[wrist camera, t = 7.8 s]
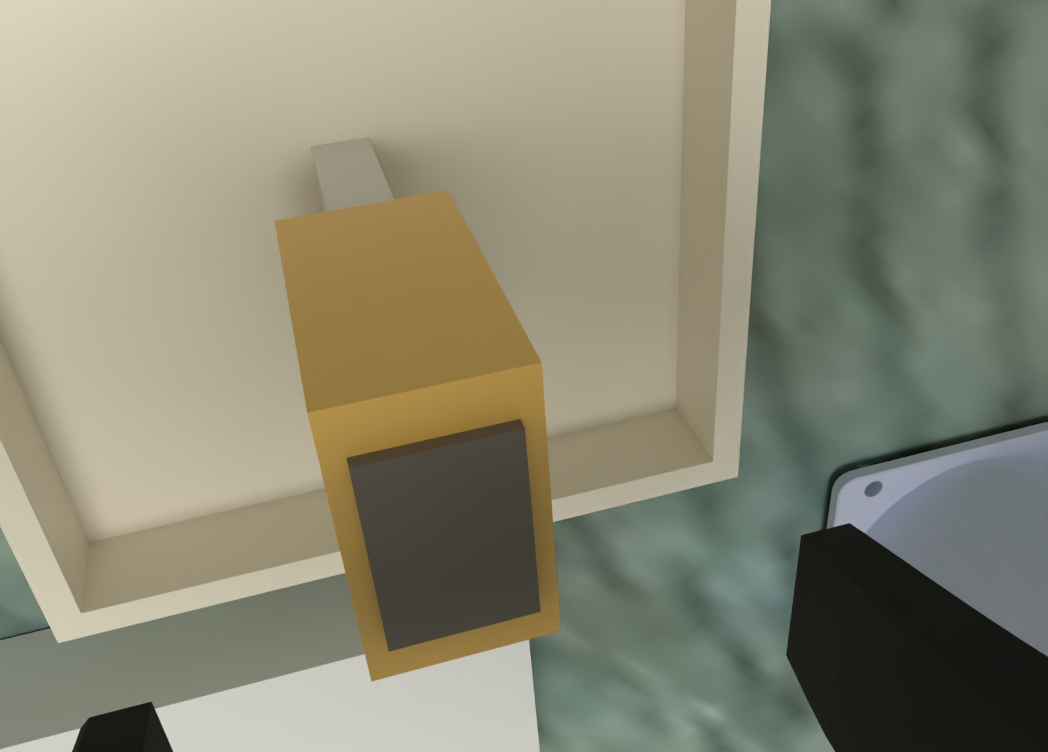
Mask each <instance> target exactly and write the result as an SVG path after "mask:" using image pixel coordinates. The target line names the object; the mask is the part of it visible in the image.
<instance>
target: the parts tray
mask: <svg viewBox="0 0 1048 752" xmlns="http://www.w3.org/2000/svg"><path fill="white" fill-rule="evenodd" d="M770 9H771V0H0V527H1V529H2V531H3V533H4V535H5V537H6V539H7V541H8V543H9V545H10V547H11V549H12V551H13V553H14V555H15V557H16V559H17V561H18V563H19V565H20V567H21V569H22V571H23V573H24V575H25V577H26V579H27V581H28V583H29V585H30V587H31V589H32V591H33V593H34V596H35V598H36V600H37V602H38V604H39V606H40V608H41V610H42V612H43V614H44V616H45V618H46V620H47V622H48V624H49V626H50V628H51V630H52V632H53V634H54V636H55V638H56V640H57V642H58V643H61V642H65V641H69V640H73V639H77V638H81V637H85V636H89V635H94V634H98V633H102V632H106V631H110V630H114V629H118V628H122V627H126V626H130V625H134V624H138V623H143V622H147V621H151V620H155V619H159V618H163V617H167V616H171V615H175V614H179V613H183V612H188V611H192V610H196V609H200V608H204V607H208V606H212V605H216V604H220V603H224V602H228V601H232V600H237V599H241V598H245V597H249V596H253V595H257V594H261V593H265V592H269V591H273V590H277V589H282V588H286V587H290V586H294V585H298V584H302V583H306V582H310V581H314V580H318V579H322V578H326V577H331V576H335V575H339V574H343V573H345V569H344V565H343V561H342V557H341V552H340V548H339V544H338V540H337V536H336V531H335V527H334V523H333V519H332V515H331V511H330V506H329V502H328V498H327V494H326V490H325V485H324V481H323V477H322V473H321V469H320V464H319V460H318V456H317V452H316V448H315V444H314V439H313V435H312V431H311V427H310V423H309V418H308V414H307V409H306V403H305V397H304V391H303V385H302V379H301V374H300V368H299V362H298V356H297V350H296V344H295V338H294V332H293V326H292V320H291V315H290V309H289V303H288V297H287V291H286V285H285V279H284V273H283V267H282V262H281V256H280V250H279V244H278V238H277V232H276V226H275V221H276V220H282V219H287V218H293V217H299V216H304V215H310V214H316V213H321V212H323V207H322V202H321V197H320V192H319V187H318V182H317V177H316V172H315V167H314V162H313V157H312V152H311V147H312V146H318V145H324V144H330V143H336V142H342V141H348V140H354V139H360V138H366V137H368V138H369V141H370V143H371V146H372V148H373V150H374V153H375V155H376V157H377V160H378V162H379V165H380V167H381V169H382V172H383V174H384V176H385V179H386V181H387V183H388V186H389V188H390V191H391V193H392V195H393V198H394V199H400V198H406V197H411V196H417V195H422V194H428V193H434V192H439V191H445V190H448V191H449V193H450V195H451V196H452V198H453V200H454V202H455V204H456V206H457V207H458V209H459V211H460V213H461V215H462V217H463V219H464V220H465V222H466V224H467V226H468V228H469V230H470V231H471V233H472V235H473V237H474V239H475V241H476V242H477V244H478V246H479V248H480V250H481V252H482V253H483V255H484V257H485V259H486V261H487V263H488V265H489V266H490V268H491V270H492V272H493V274H494V276H495V277H496V279H497V281H498V283H499V285H500V287H501V288H502V290H503V292H504V294H505V296H506V298H507V299H508V301H509V303H510V305H511V307H512V309H513V311H514V312H515V314H516V316H517V318H518V320H519V322H520V323H521V325H522V327H523V329H524V331H525V333H526V334H527V336H528V338H529V340H530V342H531V344H532V346H533V347H534V349H535V351H536V353H537V355H538V357H539V358H540V360H541V362H542V372H543V386H544V400H545V415H546V429H547V443H548V457H549V471H550V486H551V500H552V514H553V522H555V521H559V520H563V519H568V518H572V517H576V516H580V515H584V514H588V513H592V512H596V511H600V510H604V509H608V508H613V507H617V506H621V505H625V504H629V503H633V502H637V501H641V500H645V499H649V498H653V497H657V496H662V495H666V494H670V493H674V492H678V491H682V490H686V489H690V488H694V487H698V486H702V485H706V484H711V483H715V482H719V481H723V480H727V479H731V478H735V477H738V467H739V453H740V439H741V424H742V410H743V396H744V381H745V367H746V353H747V338H748V324H749V310H750V295H751V281H752V267H753V252H754V238H755V224H756V209H757V195H758V181H759V166H760V152H761V138H762V123H763V109H764V95H765V80H766V66H767V52H768V37H769V23H770Z"/></svg>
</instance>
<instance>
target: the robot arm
mask: <svg viewBox="0 0 1048 752" xmlns="http://www.w3.org/2000/svg"><path fill="white" fill-rule="evenodd" d="M870 483H871V484H870ZM869 484H870V485H869ZM786 655H787V658H788V660H789V662H790V664H791V666H792V668H793V670H794V672H795V675H796V677H797V679H798V681H799V683H800V685H801V687H802V689H803V692H804V694H805V696H806V698H807V700H808V702H809V704H810V706H811V708H812V710H813V712H814V714H815V716H816V718H817V720H818V722H819V724H820V726H821V728H822V730H823V732H824V734H825V736H826V737H827V739H828V741H829V742H830V744H831V745H832V747H833V749H834V750H835V752H1048V422H1044V423H1040V424H1036V425H1032V426H1028V427H1024V428H1020V429H1016V430H1012V431H1008V432H1004V433H1000V434H996V435H992V436H988V437H984V438H980V439H976V440H972V441H968V442H964V443H960V444H956V445H952V446H948V447H944V448H940V449H936V450H932V451H928V452H924V453H920V454H916V455H912V456H908V457H904V458H900V459H896V460H892V461H888V462H884V463H880V464H876V465H872V466H868V467H864V468H860V469H856V470H852V471H849V472H846V473H844V474H843V475H841V476H840V477H839V478H838V479H837V480H836V482H835V483H834V485H833V488H832V493H831V500H830V507H829V515H828V522H827V529H824V530H820V531H816V532H812V533H809V534H805V535H801V542H800V550H799V558H798V566H797V574H796V582H795V590H794V598H793V606H792V614H791V622H790V630H789V638H788V646H787V654H786ZM72 752H173V750H172V748H171V745H170V743H169V741H168V738H167V736H166V734H165V731H164V729H163V727H162V724H161V722H160V720H159V717H158V715H157V713H156V710H155V708H154V706H153V703H152V701H151V702H148V703H144V704H140V705H136V706H132V707H128V708H124V709H120V710H116V711H112V712H108V713H104V714H101V715H97V716H93V717H89V718H88V719H87V721H86V722H85V723H84V724H83V726H82V727H81V729H80V731H79V734H78V737H77V739H76V742H75V745H74V748H73V750H72Z"/></svg>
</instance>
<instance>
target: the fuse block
mask: <svg viewBox="0 0 1048 752" xmlns="http://www.w3.org/2000/svg"><path fill="white" fill-rule="evenodd" d="M151 701H152V703H153V706H154V708H155V710H156V713H157V715H158V717H159V720H160V722H161V724H162V727H163V729H164V731H165V734H166V736H167V738H168V741H169V743H170V745H171V748H172V750H173V752H540V749H539V738H538V728H537V718H536V707H535V697H534V687H533V676H532V666H531V656H530V645H529V640H526V641H522V642H518V643H515V644H511V645H507V646H503V647H500V648H496V649H492V650H488V651H485V652H481V653H477V654H473V655H470V656H466V657H462V658H458V659H455V660H451V661H447V662H443V663H440V664H436V665H432V666H428V667H425V668H421V669H417V670H413V671H410V672H406V673H402V674H398V675H395V676H391V677H387V678H383V679H380V680H376V681H372V682H371V678H370V674H369V670H368V665H367V661H366V657H365V653H364V649H363V644H362V640H361V636H360V632H359V628H358V624H357V619H356V615H355V611H354V607H353V603H352V598H351V594H350V590H349V586H348V582H347V578H346V573H343V574H339V575H335V576H331V577H326V578H322V579H318V580H314V581H310V582H306V583H302V584H298V585H294V586H290V587H286V588H282V589H277V590H273V591H269V592H265V593H261V594H257V595H253V596H249V597H245V598H241V599H237V600H232V601H228V602H224V603H220V604H216V605H212V606H208V607H204V608H200V609H196V610H192V611H188V612H183V613H179V614H175V615H171V616H167V617H163V618H159V619H155V620H151V621H147V622H143V623H138V624H134V625H130V626H126V627H122V628H118V629H114V630H110V631H106V632H102V633H98V634H94V635H89V636H85V637H81V638H77V639H73V640H69V641H65V642H61V643H58V642H57V640H56V638H55V636H54V634H53V632H52V630H51V628H49V629H45V630H41V631H37V632H32V633H28V634H24V635H20V636H16V637H12V638H8V639H3V640H0V752H72V750H73V748H74V745H75V742H76V739H77V737H78V734H79V731H80V729H81V727H82V726H83V724H84V723H85V722H86V721H87V719H88V718H89V717H93V716H97V715H101V714H104V713H108V712H112V711H116V710H120V709H124V708H128V707H132V706H136V705H140V704H144V703H148V702H151Z"/></svg>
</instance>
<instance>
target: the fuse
mask: <svg viewBox="0 0 1048 752" xmlns="http://www.w3.org/2000/svg"><path fill="white" fill-rule="evenodd" d="M311 152H312V157H313V162H314V167H315V172H316V177H317V182H318V187H319V192H320V197H321V202H322V207H323V212H321V213H316V214H310V215H304V216H299V217H293V218H287V219H282V220H276V221H275V226H276V232H277V238H278V244H279V250H280V256H281V262H282V267H283V273H284V279H285V285H286V291H287V297H288V303H289V309H290V315H291V320H292V326H293V332H294V338H295V344H296V350H297V356H298V362H299V368H300V374H301V379H302V385H303V391H304V397H305V403H306V409H307V414H308V418H309V423H310V427H311V431H312V435H313V439H314V444H315V448H316V452H317V456H318V460H319V464H320V469H321V473H322V477H323V481H324V485H325V490H326V494H327V498H328V502H329V506H330V511H331V515H332V519H333V523H334V527H335V531H336V536H337V540H338V544H339V548H340V552H341V557H342V561H343V565H344V569H345V573H346V578H347V582H348V586H349V590H350V594H351V598H352V603H353V607H354V611H355V615H356V619H357V624H358V628H359V632H360V636H361V640H362V644H363V649H364V653H365V657H366V661H367V665H368V670H369V674H370V678H371V682H372V681H376V680H380V679H383V678H387V677H391V676H395V675H398V674H402V673H406V672H410V671H413V670H417V669H421V668H425V667H428V666H432V665H436V664H440V663H443V662H447V661H451V660H455V659H458V658H462V657H466V656H470V655H473V654H477V653H481V652H485V651H488V650H492V649H496V648H500V647H503V646H507V645H511V644H515V643H518V642H522V641H526V640H530V639H533V638H537V637H541V636H545V635H548V634H552V633H556V632H560V631H561V628H560V613H559V599H558V585H557V571H556V557H555V542H554V528H553V514H552V500H551V486H550V471H549V457H548V443H547V429H546V415H545V400H544V386H543V372H542V362H541V360H540V358H539V357H538V355H537V353H536V351H535V349H534V347H533V346H532V344H531V342H530V340H529V338H528V336H527V334H526V333H525V331H524V329H523V327H522V325H521V323H520V322H519V320H518V318H517V316H516V314H515V312H514V311H513V309H512V307H511V305H510V303H509V301H508V299H507V298H506V296H505V294H504V292H503V290H502V288H501V287H500V285H499V283H498V281H497V279H496V277H495V276H494V274H493V272H492V270H491V268H490V266H489V265H488V263H487V261H486V259H485V257H484V255H483V253H482V252H481V250H480V248H479V246H478V244H477V242H476V241H475V239H474V237H473V235H472V233H471V231H470V230H469V228H468V226H467V224H466V222H465V220H464V219H463V217H462V215H461V213H460V211H459V209H458V207H457V206H456V204H455V202H454V200H453V198H452V196H451V195H450V193H449V191H448V190H445V191H439V192H434V193H428V194H422V195H417V196H411V197H406V198H400V199H394V198H393V195H392V193H391V191H390V188H389V186H388V183H387V181H386V179H385V176H384V174H383V172H382V169H381V167H380V165H379V162H378V160H377V157H376V155H375V153H374V150H373V148H372V146H371V143H370V141H369V138H368V137H366V138H360V139H354V140H348V141H342V142H336V143H330V144H324V145H318V146H312V147H311Z"/></svg>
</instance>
